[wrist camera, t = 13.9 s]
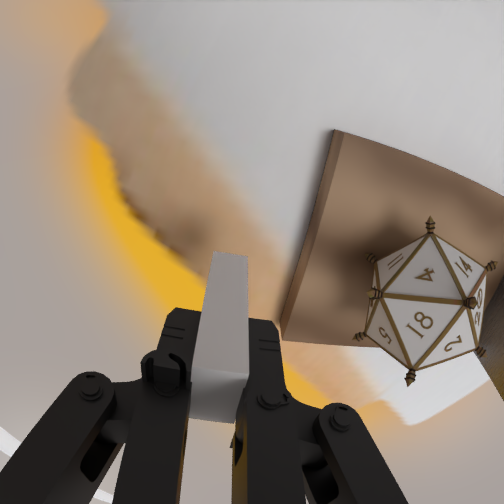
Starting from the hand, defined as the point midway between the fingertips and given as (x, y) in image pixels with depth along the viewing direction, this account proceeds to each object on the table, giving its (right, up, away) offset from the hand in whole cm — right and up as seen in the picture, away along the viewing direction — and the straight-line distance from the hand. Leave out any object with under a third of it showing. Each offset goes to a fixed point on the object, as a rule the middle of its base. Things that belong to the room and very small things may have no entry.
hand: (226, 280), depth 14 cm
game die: (+11, 0, +4) cm, 12 cm away
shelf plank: (+14, +1, +6) cm, 15 cm away
